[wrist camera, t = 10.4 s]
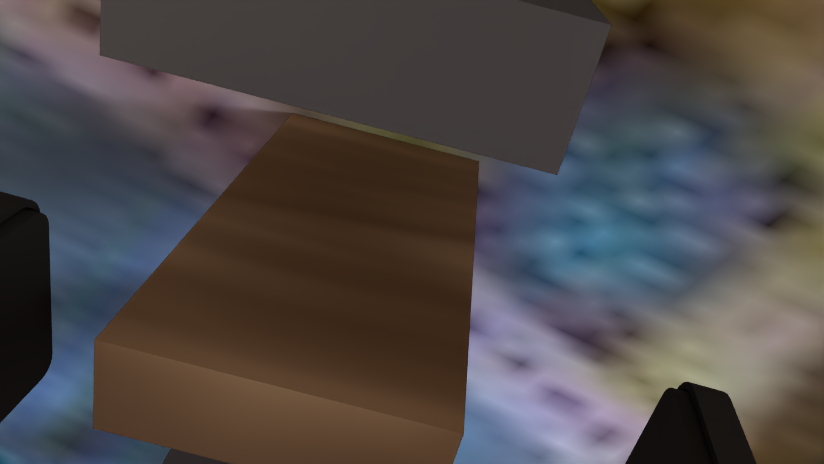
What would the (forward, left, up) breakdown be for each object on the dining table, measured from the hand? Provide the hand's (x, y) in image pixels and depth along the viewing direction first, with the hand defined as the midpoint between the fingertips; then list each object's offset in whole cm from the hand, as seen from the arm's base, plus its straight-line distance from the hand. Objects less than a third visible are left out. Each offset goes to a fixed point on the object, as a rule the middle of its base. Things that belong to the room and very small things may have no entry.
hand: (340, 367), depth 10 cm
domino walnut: (0, -1, -9) cm, 9 cm away
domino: (-5, -1, -9) cm, 10 cm away
